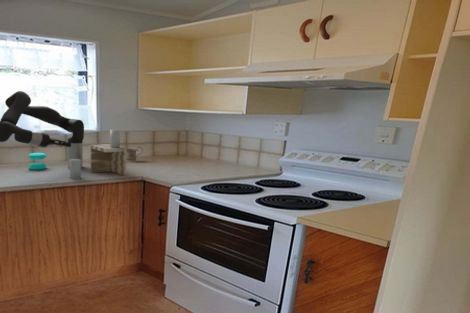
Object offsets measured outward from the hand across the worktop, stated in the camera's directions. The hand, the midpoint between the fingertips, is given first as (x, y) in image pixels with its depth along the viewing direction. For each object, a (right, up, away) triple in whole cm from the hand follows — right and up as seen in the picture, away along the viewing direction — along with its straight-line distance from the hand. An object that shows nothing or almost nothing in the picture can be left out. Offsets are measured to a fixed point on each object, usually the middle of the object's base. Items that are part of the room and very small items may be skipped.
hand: (66, 145), depth 190 cm
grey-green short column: (0, -19, +10) cm, 22 cm away
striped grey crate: (+14, -18, +26) cm, 35 cm away
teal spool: (-34, -15, +29) cm, 47 cm away
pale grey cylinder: (+20, -1, +22) cm, 30 cm away
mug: (+16, -11, +75) cm, 77 cm away
